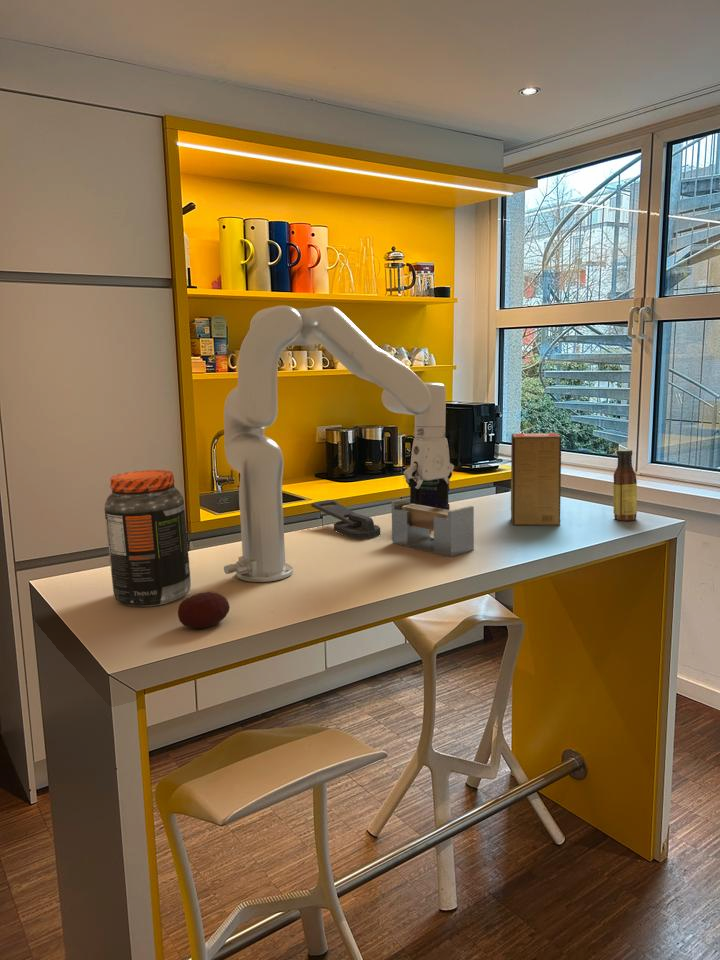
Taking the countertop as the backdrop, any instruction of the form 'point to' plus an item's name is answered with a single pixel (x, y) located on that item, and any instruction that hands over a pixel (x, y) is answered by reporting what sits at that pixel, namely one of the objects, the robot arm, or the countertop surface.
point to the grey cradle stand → (435, 531)
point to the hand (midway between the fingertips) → (429, 501)
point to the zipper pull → (349, 521)
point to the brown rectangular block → (424, 515)
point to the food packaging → (535, 479)
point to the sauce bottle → (625, 487)
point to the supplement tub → (147, 538)
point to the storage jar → (432, 495)
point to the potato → (203, 610)
